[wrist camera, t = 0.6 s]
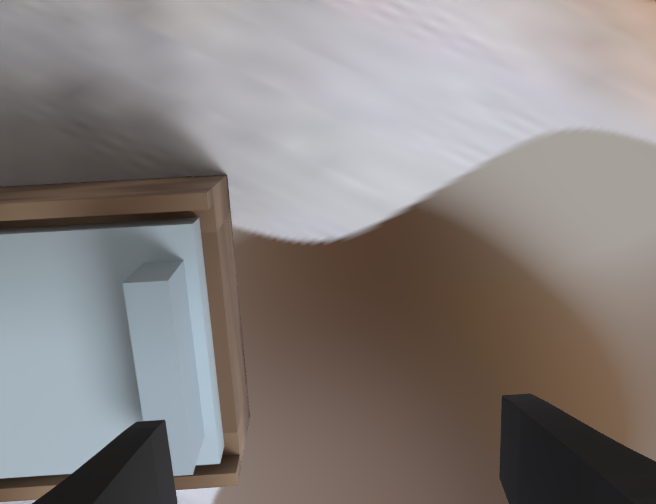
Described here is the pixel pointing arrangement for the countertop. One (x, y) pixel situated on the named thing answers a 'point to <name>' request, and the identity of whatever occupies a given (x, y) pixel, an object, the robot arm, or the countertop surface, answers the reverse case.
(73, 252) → the cover plate
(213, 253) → the walnut box
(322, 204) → the countertop surface
